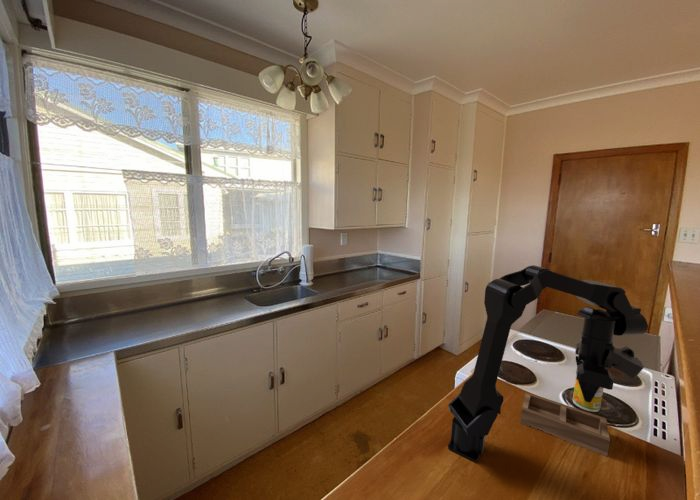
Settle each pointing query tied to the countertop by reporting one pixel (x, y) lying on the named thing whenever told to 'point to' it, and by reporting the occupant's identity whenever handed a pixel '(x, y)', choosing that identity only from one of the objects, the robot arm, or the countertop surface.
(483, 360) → the robot arm
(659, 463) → the countertop surface
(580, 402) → the supplement bottle
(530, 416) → the walnut trough
